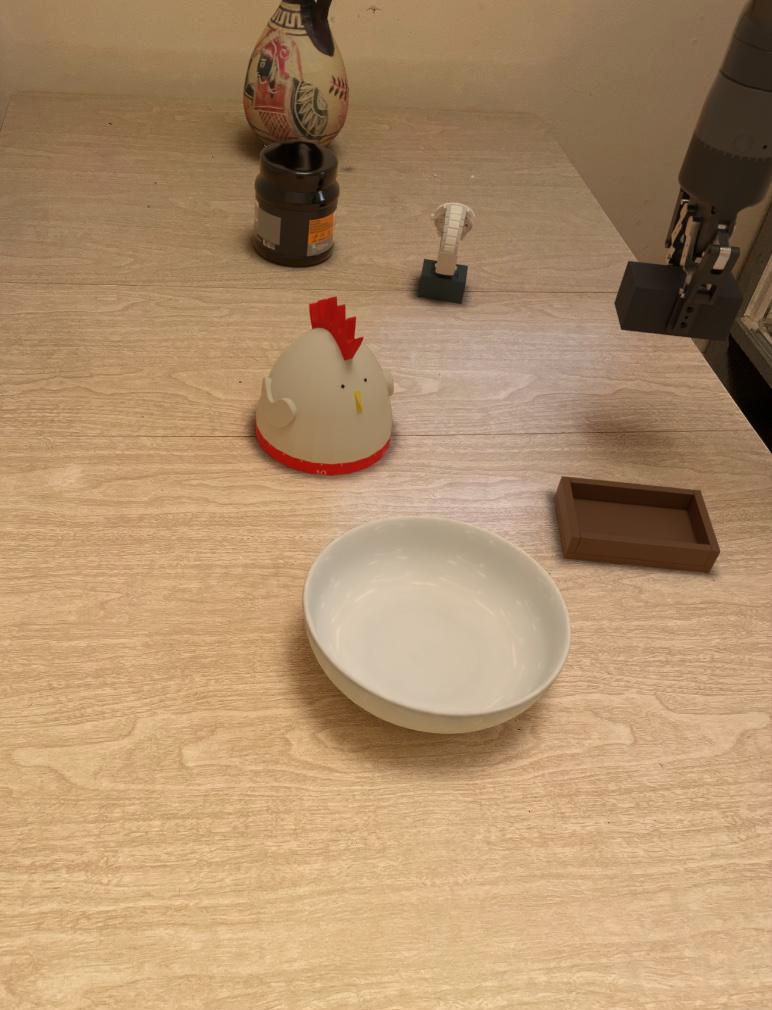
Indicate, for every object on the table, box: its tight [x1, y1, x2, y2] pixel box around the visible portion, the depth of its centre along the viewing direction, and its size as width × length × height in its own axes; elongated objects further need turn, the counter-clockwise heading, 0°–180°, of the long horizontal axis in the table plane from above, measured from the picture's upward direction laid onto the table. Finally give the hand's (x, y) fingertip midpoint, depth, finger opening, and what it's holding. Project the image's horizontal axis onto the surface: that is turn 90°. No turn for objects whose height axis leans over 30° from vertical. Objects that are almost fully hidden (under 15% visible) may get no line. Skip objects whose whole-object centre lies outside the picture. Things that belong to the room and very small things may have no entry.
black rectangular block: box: [613, 260, 745, 343], centre depth 91 cm, size 10×5×4 cm, turn 86°
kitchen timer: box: [254, 295, 395, 476], centre depth 93 cm, size 14×14×15 cm
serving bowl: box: [301, 514, 573, 735], centre depth 77 cm, size 21×21×7 cm
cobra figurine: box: [416, 202, 476, 305], centre depth 116 cm, size 6×8×11 cm
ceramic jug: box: [242, 0, 350, 149], centre depth 134 cm, size 17×15×30 cm
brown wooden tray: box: [553, 475, 721, 574], centre depth 91 cm, size 14×9×3 cm, turn 87°
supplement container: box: [252, 141, 341, 268], centre depth 120 cm, size 10×10×12 cm
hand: (671, 316), depth 93 cm, fingers closed on black rectangular block, 5 cm apart
